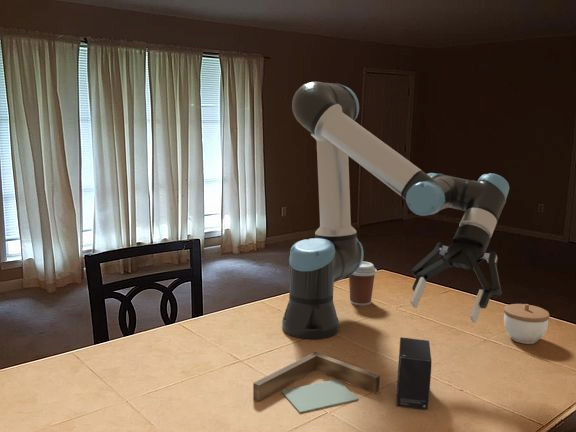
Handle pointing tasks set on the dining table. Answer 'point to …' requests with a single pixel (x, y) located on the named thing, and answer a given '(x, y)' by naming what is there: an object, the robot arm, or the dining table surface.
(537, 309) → the lidded jar
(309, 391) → the pad
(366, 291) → the coffee cup
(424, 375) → the small box
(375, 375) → the walnut corner fence
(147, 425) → the dining table surface
